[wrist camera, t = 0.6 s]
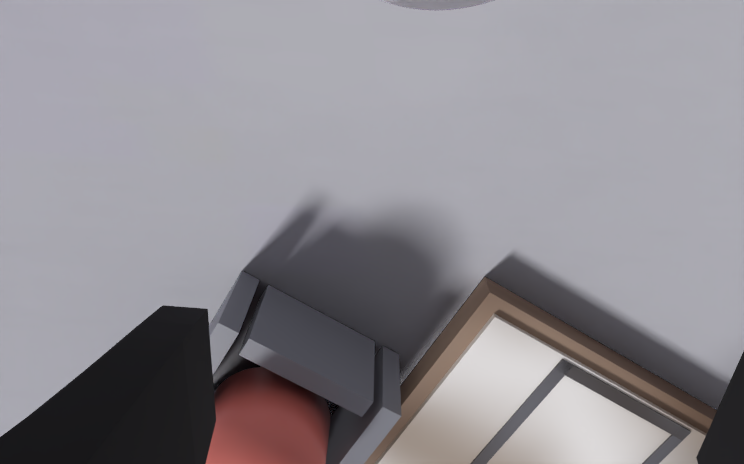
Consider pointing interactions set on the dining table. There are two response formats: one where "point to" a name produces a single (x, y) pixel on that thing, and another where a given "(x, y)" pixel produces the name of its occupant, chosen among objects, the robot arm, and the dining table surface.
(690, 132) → the dining table surface
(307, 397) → the button
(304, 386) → the button housing
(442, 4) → the milkshake
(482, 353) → the brown flat wooden board
